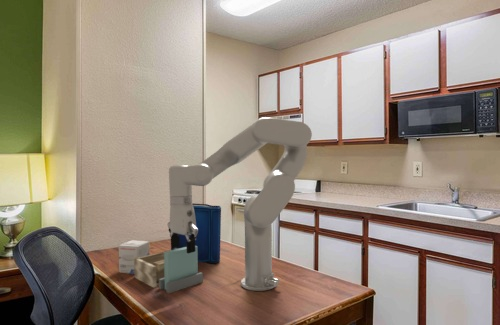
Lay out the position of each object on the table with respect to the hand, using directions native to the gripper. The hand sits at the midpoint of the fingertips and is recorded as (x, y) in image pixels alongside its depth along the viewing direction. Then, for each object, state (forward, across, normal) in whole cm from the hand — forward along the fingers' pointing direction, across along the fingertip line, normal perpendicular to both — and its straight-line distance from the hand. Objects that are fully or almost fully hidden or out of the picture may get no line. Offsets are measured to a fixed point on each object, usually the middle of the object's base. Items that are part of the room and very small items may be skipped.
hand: (183, 249), depth 116 cm
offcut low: (+12, +10, +1) cm, 16 cm away
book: (+14, +21, -20) cm, 32 cm away
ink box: (+13, +28, +5) cm, 31 cm away
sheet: (+13, +1, +1) cm, 13 cm away
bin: (+13, +13, +1) cm, 18 cm away
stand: (+13, +1, +1) cm, 13 cm away
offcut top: (+9, +10, +1) cm, 13 cm away
